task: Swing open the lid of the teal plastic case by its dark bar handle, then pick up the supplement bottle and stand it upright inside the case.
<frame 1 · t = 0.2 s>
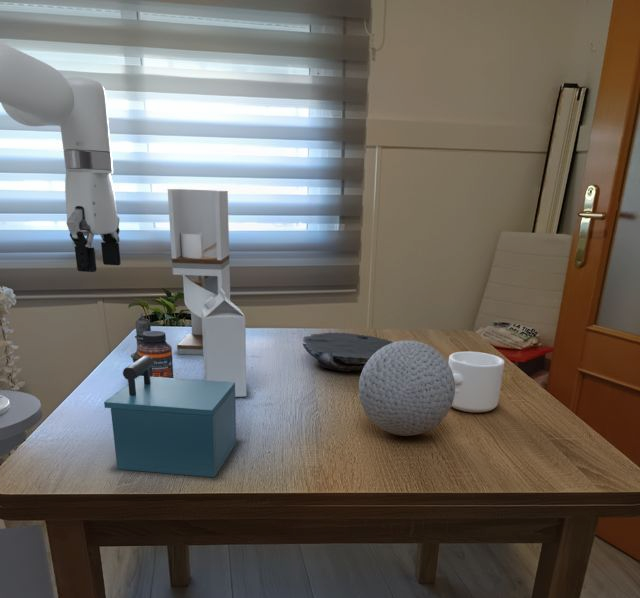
hand: (100, 267, 103), 22 cm above the table, tool pointing down, fingers open, 9 cm apart
mug: (465, 404, 107), on the table
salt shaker: (147, 372, 118), on the table
case lid: (172, 380, 78), point 11 cm above the table, hinge at 0.0°
supplement bottle: (158, 393, 107), on the table
display case: (205, 348, 137), on the table
decorative ball: (401, 433, 93), on the table
case: (180, 455, 83), on the table
milk carton: (225, 393, 108), on the table
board: (349, 365, 128), on the table
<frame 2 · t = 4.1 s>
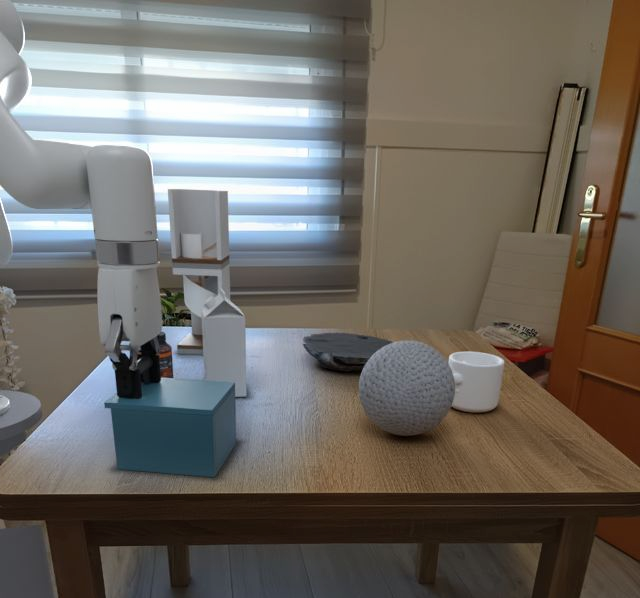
hand: (140, 388, 79), 10 cm above the table, tool pointing down, fingers closed on case lid, 6 cm apart
case lid: (172, 380, 78), point 11 cm above the table, hinge at -0.2°, touching gripper
everything else where it was.
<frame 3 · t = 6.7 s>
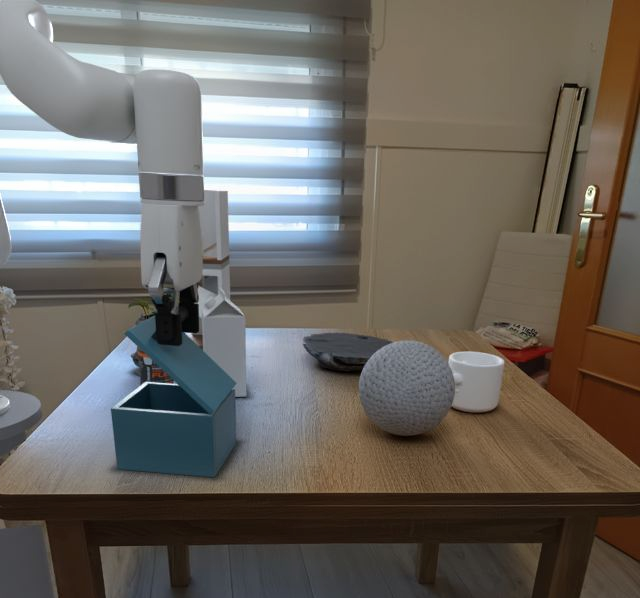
hand: (178, 336, 76), 17 cm above the table, tool pointing down, fingers closed on case lid, 6 cm apart
case lid: (194, 350, 76), point 16 cm above the table, hinge at 43.4°, touching gripper
everything else where it was.
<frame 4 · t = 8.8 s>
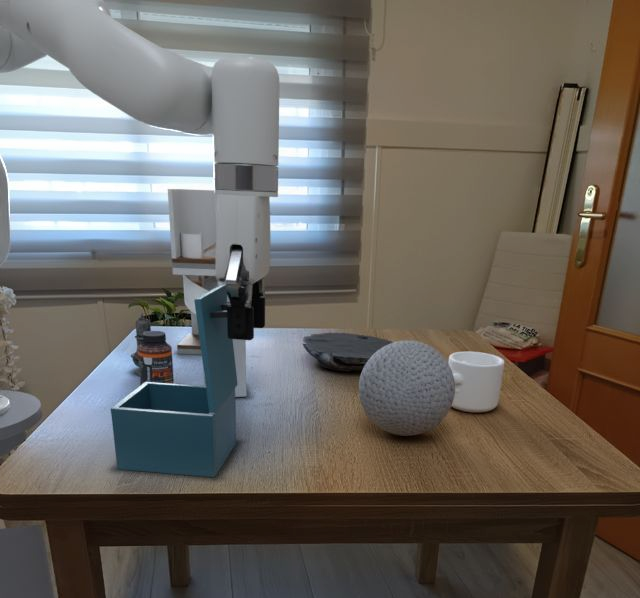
hand: (247, 331, 74), 19 cm above the table, tool pointing down, fingers closed on case lid, 6 cm apart
case lid: (232, 346, 75), point 17 cm above the table, hinge at 84.9°, touching gripper
everything else where it was.
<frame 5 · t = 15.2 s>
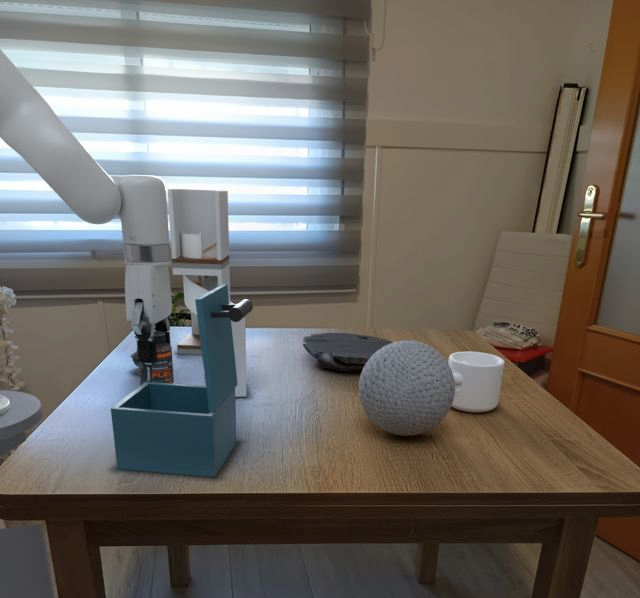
hand: (155, 356, 104), 7 cm above the table, tool pointing down, fingers closed on supplement bottle, 6 cm apart
case lid: (233, 346, 75), point 17 cm above the table, hinge at 85.4°
supplement bottle: (158, 393, 107), on the table, touching gripper
everything else where it was.
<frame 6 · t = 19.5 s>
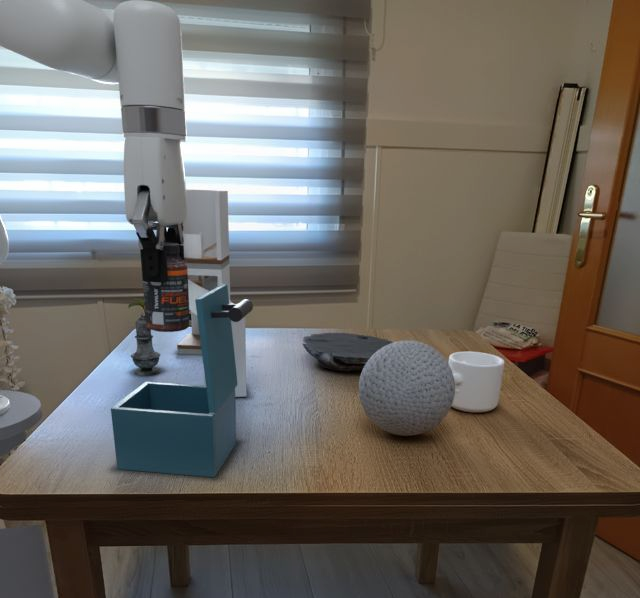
hand: (164, 276, 77), 25 cm above the table, tool pointing down, fingers closed on supplement bottle, 6 cm apart
supplement bottle: (168, 329, 80), point 17 cm above the table, touching gripper
everything else where it was.
when the fingers open (8 cm above the table, at t = 24.6 s): supplement bottle stays where it is, resting on case.
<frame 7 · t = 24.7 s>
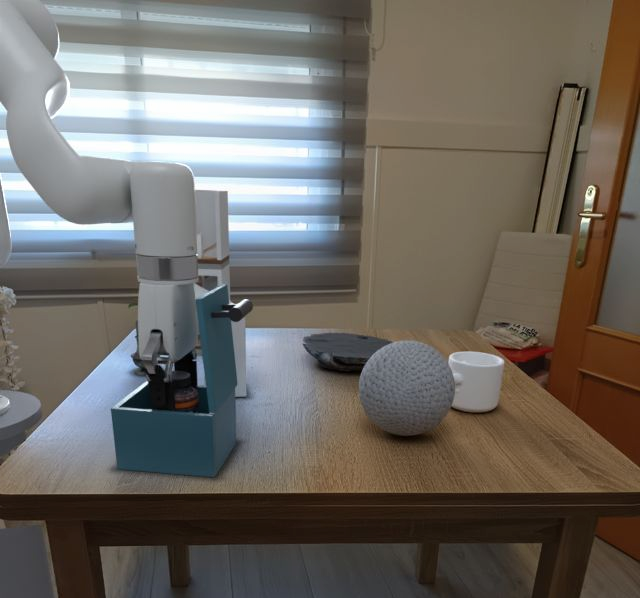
hand: (175, 397, 79), 9 cm above the table, tool pointing down, fingers open, 8 cm apart
supplement bottle: (179, 451, 82), point 1 cm above the table, touching case
everything else where it was.
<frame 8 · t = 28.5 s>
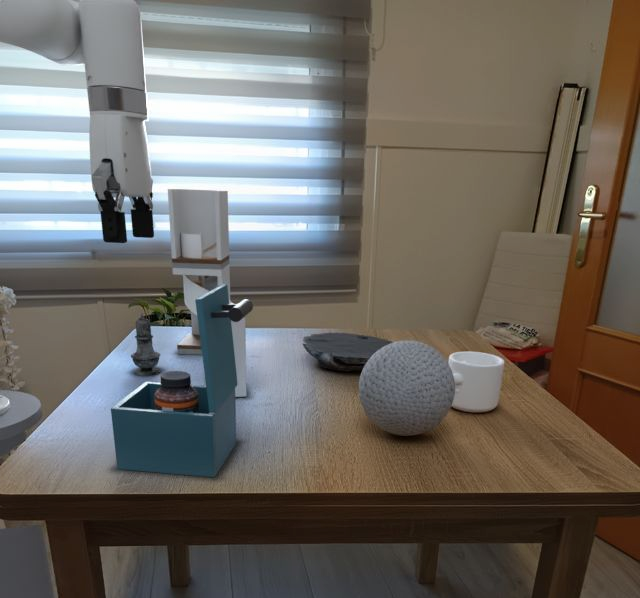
hand: (130, 239, 84), 28 cm above the table, tool pointing down, fingers open, 9 cm apart
nothing on the table moved.
at the end: case lid at +85° (first picture: +0°); supplement bottle inside the target area in the case (0.0 cm from its centre), point 0.6 cm above the case's base; supplement bottle tilted 0° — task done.
